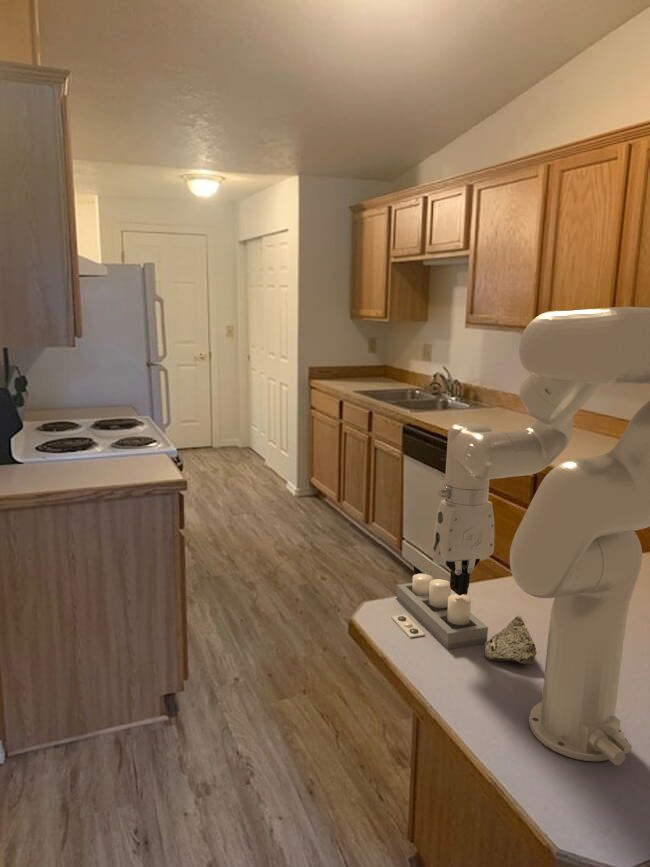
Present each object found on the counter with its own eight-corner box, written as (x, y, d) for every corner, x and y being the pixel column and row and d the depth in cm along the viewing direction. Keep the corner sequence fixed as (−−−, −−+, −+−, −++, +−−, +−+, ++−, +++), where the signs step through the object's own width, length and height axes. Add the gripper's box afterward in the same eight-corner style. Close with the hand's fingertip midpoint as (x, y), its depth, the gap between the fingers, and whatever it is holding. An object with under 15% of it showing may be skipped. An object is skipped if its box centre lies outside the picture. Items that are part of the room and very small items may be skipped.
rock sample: (467, 623, 115) (508, 599, 112) (489, 640, 118) (530, 617, 116) (484, 675, 106) (530, 650, 103) (508, 692, 110) (553, 668, 107)
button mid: (453, 606, 122) (455, 586, 121) (435, 609, 121) (436, 589, 120) (443, 597, 126) (444, 578, 125) (425, 600, 125) (426, 580, 124)
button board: (486, 642, 116) (487, 627, 115) (447, 649, 113) (448, 633, 112) (430, 593, 135) (431, 580, 134) (396, 598, 132) (396, 584, 132)
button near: (473, 623, 116) (475, 602, 115) (454, 626, 114) (455, 605, 114) (462, 613, 119) (463, 593, 119) (442, 616, 118) (444, 595, 117)
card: (424, 635, 118) (425, 633, 118) (410, 638, 117) (410, 635, 117) (405, 615, 125) (405, 613, 125) (391, 618, 124) (391, 615, 124)
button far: (435, 599, 129) (436, 580, 128) (417, 601, 128) (418, 582, 127) (426, 591, 133) (427, 572, 132) (408, 593, 131) (409, 574, 131)
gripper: (438, 503, 107) (431, 606, 110) (515, 497, 111) (506, 595, 115) (417, 491, 114) (412, 588, 117) (490, 485, 118) (483, 578, 122)
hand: (458, 591), depth 116 cm, fingers closed
